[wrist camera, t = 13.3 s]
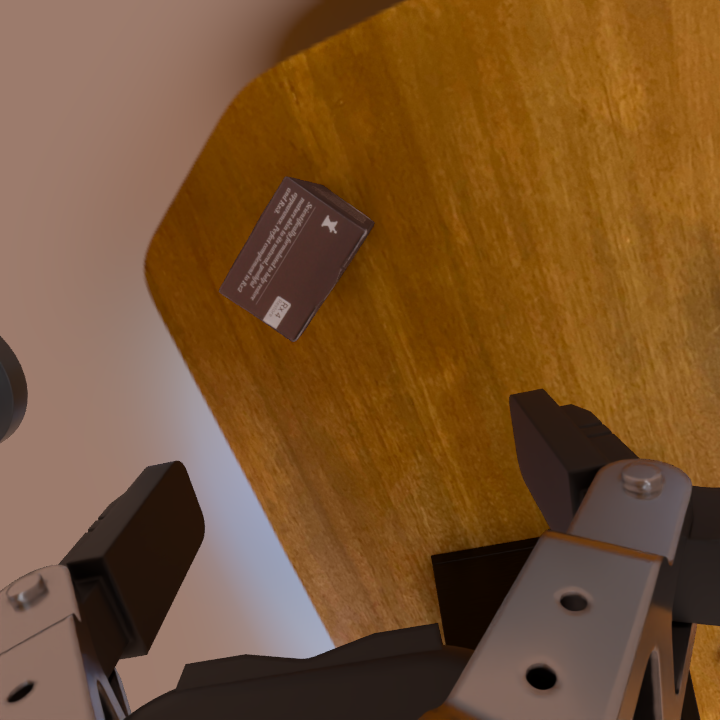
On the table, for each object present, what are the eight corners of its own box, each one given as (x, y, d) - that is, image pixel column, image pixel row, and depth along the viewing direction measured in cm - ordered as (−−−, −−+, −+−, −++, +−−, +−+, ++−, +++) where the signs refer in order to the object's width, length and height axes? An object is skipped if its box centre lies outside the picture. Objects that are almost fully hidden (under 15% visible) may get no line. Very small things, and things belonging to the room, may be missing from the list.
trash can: (454, 660, 43) (477, 791, 34) (431, 555, 40) (449, 667, 31) (608, 637, 42) (678, 765, 33) (597, 526, 39) (670, 633, 29)
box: (317, 180, 32) (285, 170, 20) (376, 222, 32) (377, 234, 21) (268, 261, 33) (213, 293, 22) (325, 299, 34) (301, 349, 23)
